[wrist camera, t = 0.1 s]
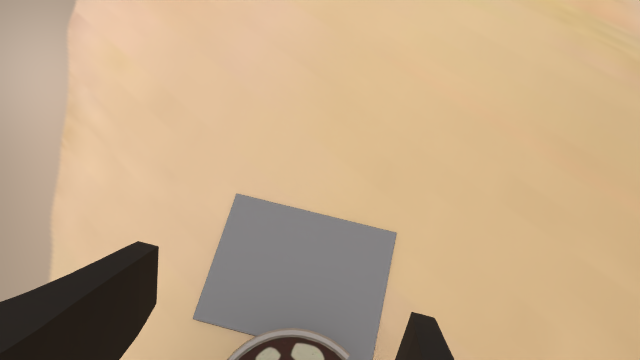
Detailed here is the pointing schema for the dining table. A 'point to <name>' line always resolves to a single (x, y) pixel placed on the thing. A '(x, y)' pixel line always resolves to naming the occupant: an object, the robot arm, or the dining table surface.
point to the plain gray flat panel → (298, 275)
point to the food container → (290, 346)
